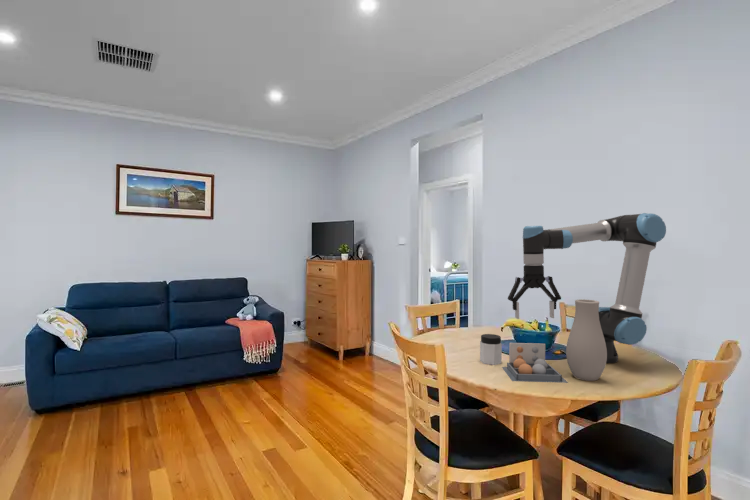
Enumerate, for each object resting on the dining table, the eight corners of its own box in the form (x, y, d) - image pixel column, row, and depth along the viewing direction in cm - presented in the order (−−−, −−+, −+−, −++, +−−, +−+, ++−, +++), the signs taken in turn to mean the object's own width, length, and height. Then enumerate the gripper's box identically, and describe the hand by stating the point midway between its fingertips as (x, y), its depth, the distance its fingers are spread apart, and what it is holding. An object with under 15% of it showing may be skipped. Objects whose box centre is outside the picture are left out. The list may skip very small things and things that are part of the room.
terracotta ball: (524, 369, 166) (524, 356, 166) (528, 373, 161) (528, 360, 161) (511, 369, 166) (512, 356, 166) (515, 373, 161) (515, 360, 161)
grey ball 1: (545, 369, 165) (545, 357, 165) (549, 374, 160) (549, 361, 160) (532, 369, 166) (532, 357, 166) (536, 373, 161) (536, 360, 161)
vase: (575, 385, 150) (576, 303, 150) (560, 373, 164) (561, 298, 164) (613, 386, 150) (615, 303, 149) (595, 374, 164) (596, 298, 163)
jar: (491, 368, 170) (491, 339, 170) (476, 363, 177) (476, 335, 177) (505, 364, 175) (505, 336, 175) (490, 360, 182) (490, 333, 182)
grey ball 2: (545, 366, 159) (533, 360, 159) (550, 369, 154) (537, 363, 154) (539, 377, 159) (527, 371, 159) (544, 381, 154) (531, 375, 154)
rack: (552, 370, 168) (552, 343, 167) (568, 385, 151) (568, 355, 150) (501, 369, 169) (501, 342, 169) (512, 383, 152) (512, 353, 152)
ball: (529, 375, 159) (530, 362, 159) (533, 379, 154) (534, 366, 154) (516, 374, 159) (517, 361, 159) (520, 378, 154) (520, 365, 154)
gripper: (561, 263, 168) (562, 315, 169) (499, 264, 169) (500, 316, 170) (569, 264, 160) (570, 319, 161) (504, 266, 161) (505, 320, 162)
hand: (534, 317), depth 165 cm, fingers open, 13 cm apart
